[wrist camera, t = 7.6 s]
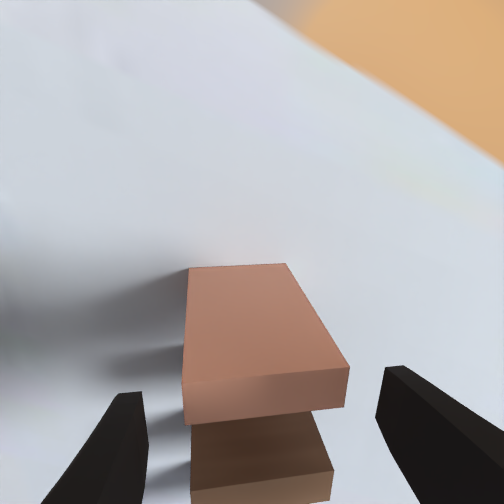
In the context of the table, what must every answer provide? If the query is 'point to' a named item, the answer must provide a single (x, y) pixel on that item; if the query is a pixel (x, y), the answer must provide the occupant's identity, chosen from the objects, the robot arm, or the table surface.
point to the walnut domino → (260, 461)
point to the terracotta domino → (255, 347)
